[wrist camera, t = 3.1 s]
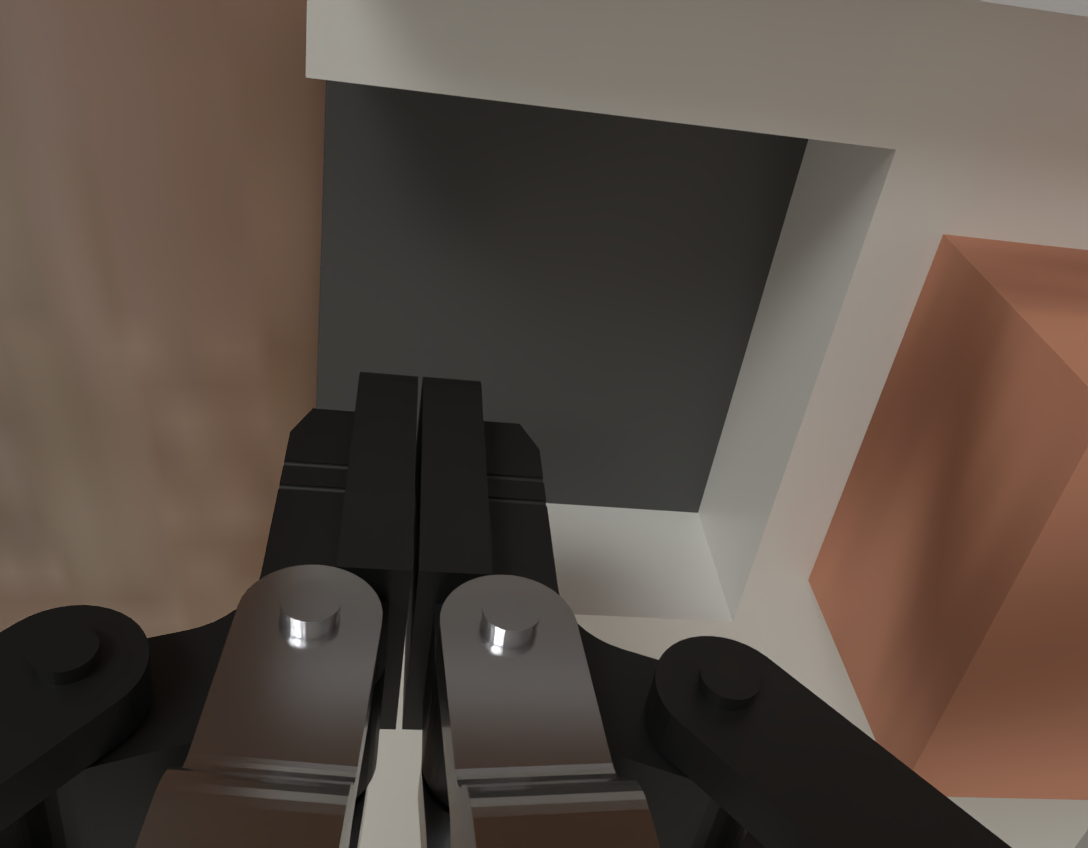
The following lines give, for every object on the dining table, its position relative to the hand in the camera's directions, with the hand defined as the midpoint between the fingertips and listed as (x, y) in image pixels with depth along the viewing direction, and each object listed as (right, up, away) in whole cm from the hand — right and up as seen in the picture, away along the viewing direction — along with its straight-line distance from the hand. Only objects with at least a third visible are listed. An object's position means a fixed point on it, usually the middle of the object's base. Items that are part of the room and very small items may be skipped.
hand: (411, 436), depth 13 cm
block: (+9, 0, +2) cm, 10 cm away
